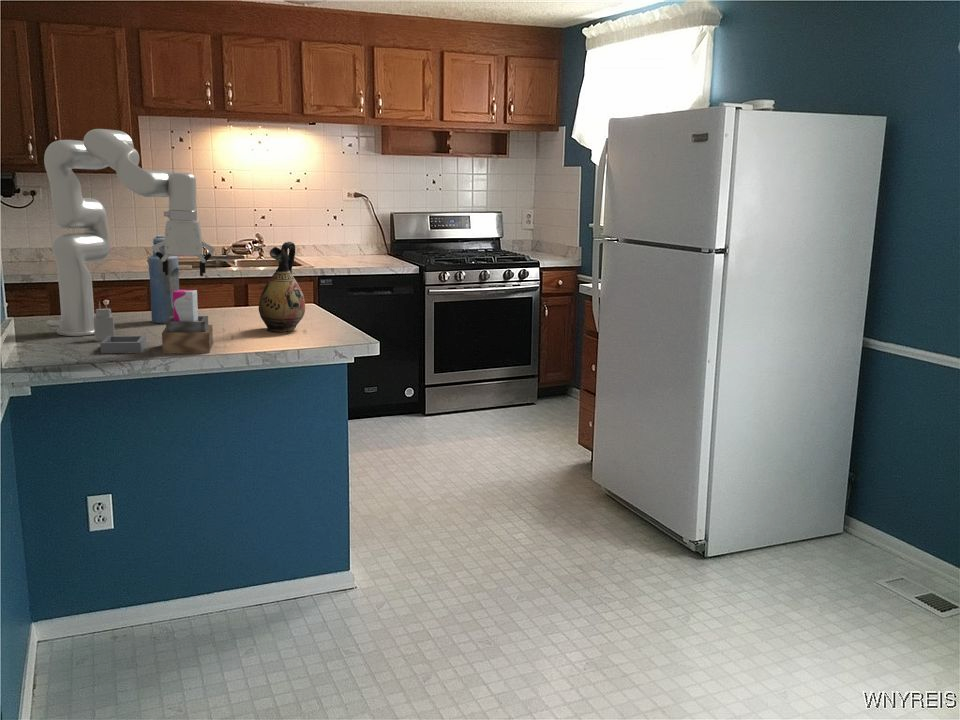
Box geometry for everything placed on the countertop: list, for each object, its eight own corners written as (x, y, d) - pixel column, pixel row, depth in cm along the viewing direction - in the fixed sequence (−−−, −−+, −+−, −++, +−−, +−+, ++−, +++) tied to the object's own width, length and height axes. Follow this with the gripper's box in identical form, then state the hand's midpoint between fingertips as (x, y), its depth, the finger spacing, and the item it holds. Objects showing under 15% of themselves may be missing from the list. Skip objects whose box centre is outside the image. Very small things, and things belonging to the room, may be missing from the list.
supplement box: (199, 327, 247) (197, 289, 245) (194, 330, 242) (192, 292, 239) (179, 326, 247) (177, 289, 244) (173, 330, 241) (172, 291, 239)
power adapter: (115, 340, 254) (113, 301, 251) (96, 341, 251) (94, 302, 248) (113, 338, 256) (111, 300, 254) (94, 339, 253) (92, 301, 251)
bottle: (172, 324, 282) (168, 237, 275) (145, 323, 283) (141, 235, 277) (186, 320, 291) (182, 235, 285) (160, 318, 293) (156, 234, 286)
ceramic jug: (290, 335, 270) (288, 244, 264) (250, 331, 275) (247, 242, 269) (316, 328, 286) (315, 241, 280) (278, 324, 291) (276, 239, 284)
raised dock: (162, 353, 238) (161, 322, 236) (168, 344, 250) (167, 315, 248) (209, 352, 241) (208, 322, 239) (213, 343, 253) (212, 315, 251)
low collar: (100, 353, 235) (100, 343, 234) (108, 345, 245) (107, 335, 244) (140, 352, 237) (140, 342, 237) (146, 345, 248) (146, 335, 247)
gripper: (149, 216, 232) (151, 276, 235) (213, 218, 236) (214, 277, 240) (153, 214, 239) (154, 272, 242) (215, 217, 243) (216, 274, 247)
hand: (184, 275), depth 241 cm, fingers open, 9 cm apart
